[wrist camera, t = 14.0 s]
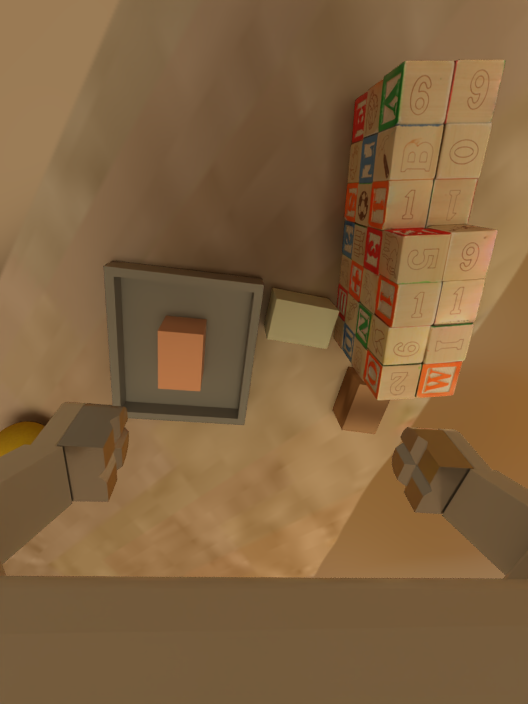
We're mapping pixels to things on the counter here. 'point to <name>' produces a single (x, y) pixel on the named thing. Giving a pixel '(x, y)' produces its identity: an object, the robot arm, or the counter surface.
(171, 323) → the terracotta brick
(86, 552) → the counter surface
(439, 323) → the stack of blocks
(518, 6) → the counter surface
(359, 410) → the walnut brick
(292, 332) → the sage brick
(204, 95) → the counter surface
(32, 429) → the lemon
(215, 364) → the charcoal tray
